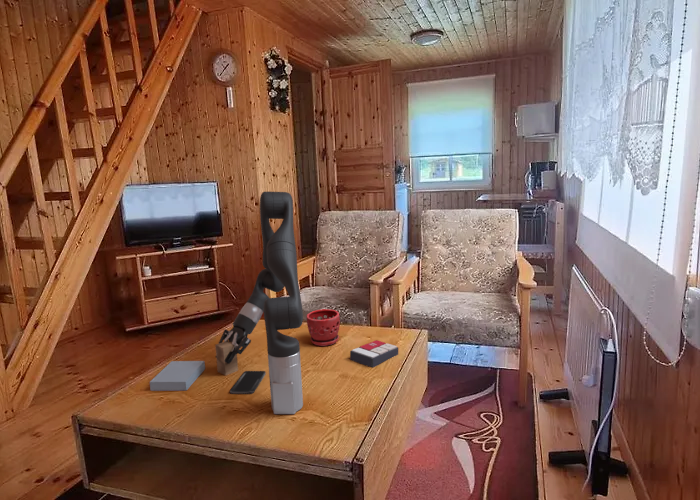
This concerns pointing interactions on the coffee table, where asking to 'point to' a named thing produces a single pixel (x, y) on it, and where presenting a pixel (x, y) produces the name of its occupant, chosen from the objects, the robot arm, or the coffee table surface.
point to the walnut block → (221, 355)
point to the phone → (248, 382)
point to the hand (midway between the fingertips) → (222, 360)
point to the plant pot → (323, 327)
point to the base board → (177, 376)
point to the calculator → (373, 353)
